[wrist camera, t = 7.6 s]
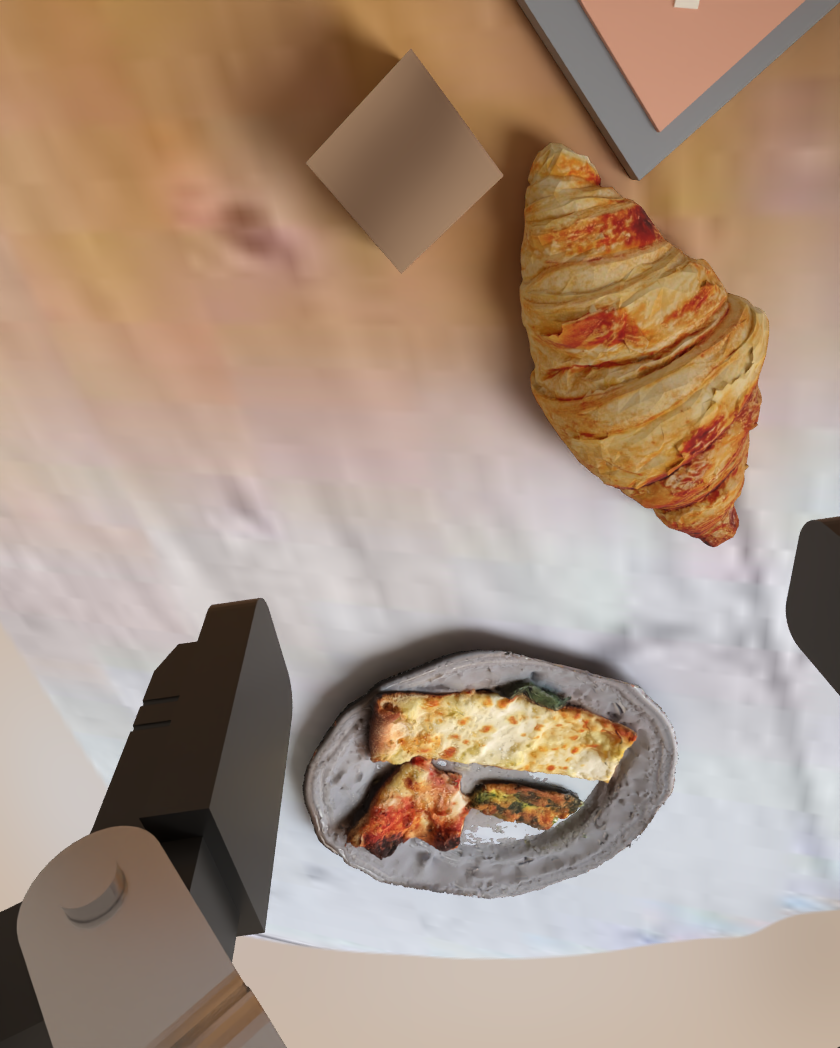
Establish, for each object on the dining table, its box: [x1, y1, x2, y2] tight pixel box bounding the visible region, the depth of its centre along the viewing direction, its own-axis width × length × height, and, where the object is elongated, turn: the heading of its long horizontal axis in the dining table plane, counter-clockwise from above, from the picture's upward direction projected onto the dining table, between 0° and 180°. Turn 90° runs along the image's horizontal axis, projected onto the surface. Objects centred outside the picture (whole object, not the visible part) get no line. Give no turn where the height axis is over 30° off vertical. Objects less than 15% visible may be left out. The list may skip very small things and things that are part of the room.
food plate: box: [303, 650, 678, 899], centre depth 46 cm, size 25×23×4 cm
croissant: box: [520, 143, 769, 547], centre depth 31 cm, size 21×10×8 cm, turn 33°
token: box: [306, 49, 504, 274], centre depth 26 cm, size 5×5×5 cm
